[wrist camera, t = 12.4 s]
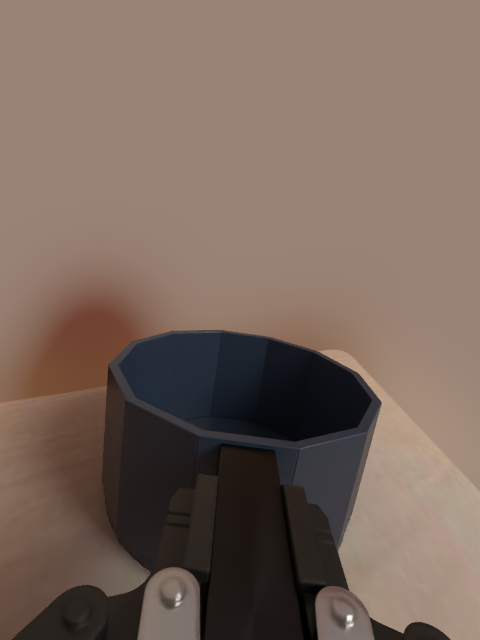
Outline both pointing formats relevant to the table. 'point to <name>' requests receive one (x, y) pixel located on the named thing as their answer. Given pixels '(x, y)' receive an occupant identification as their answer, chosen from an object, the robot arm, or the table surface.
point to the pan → (234, 459)
